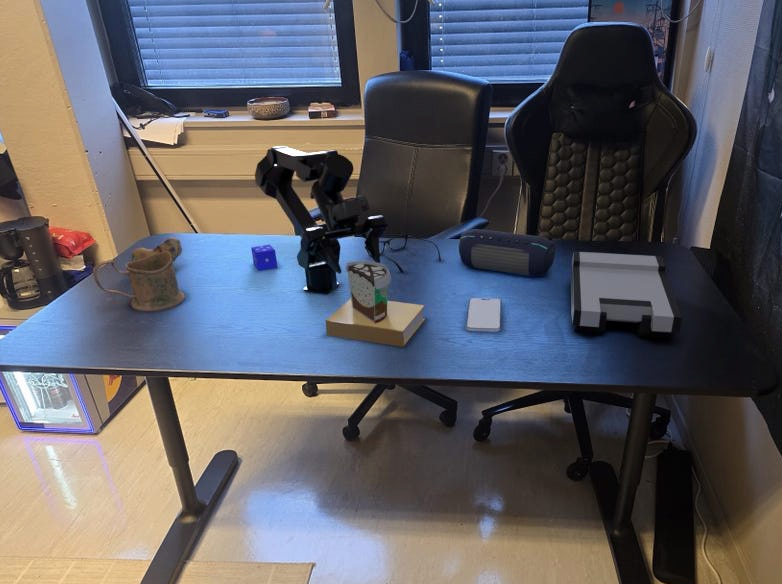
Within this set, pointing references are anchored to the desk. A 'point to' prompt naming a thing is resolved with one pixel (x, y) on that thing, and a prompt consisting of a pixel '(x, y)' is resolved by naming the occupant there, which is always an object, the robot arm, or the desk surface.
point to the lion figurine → (159, 250)
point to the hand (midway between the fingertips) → (359, 268)
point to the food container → (369, 288)
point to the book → (377, 324)
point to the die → (264, 257)
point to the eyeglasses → (399, 249)
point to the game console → (622, 293)
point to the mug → (150, 282)
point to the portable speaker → (506, 252)
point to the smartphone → (484, 315)
